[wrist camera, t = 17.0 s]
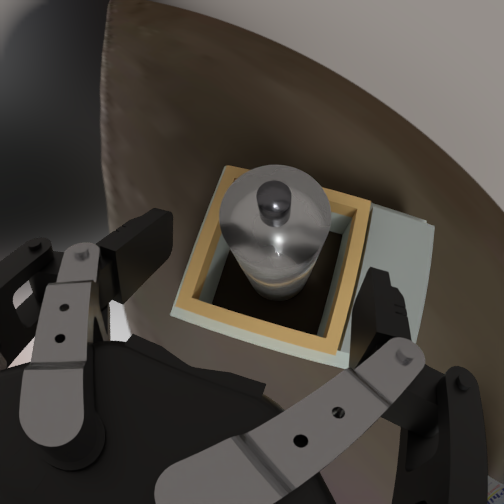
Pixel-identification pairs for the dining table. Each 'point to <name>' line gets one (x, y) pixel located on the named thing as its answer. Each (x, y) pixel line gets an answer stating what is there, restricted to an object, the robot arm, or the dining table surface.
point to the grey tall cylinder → (275, 227)
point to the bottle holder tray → (342, 285)
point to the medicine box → (495, 492)
